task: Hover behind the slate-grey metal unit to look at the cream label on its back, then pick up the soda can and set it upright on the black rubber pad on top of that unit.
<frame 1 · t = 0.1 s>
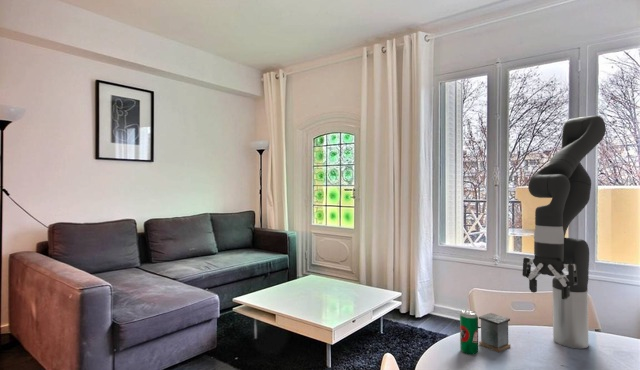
hand: (548, 295, 107), 17 cm above the table, tool pointing down, fingers open, 8 cm apart
soda can: (469, 352, 109), on the table
service unit: (494, 346, 113), on the table
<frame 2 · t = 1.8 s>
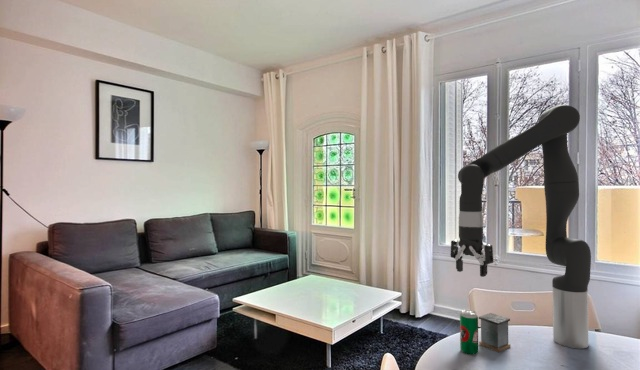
hand: (471, 273, 119), 21 cm above the table, tool pointing down, fingers open, 8 cm apart
nothing on the table moved.
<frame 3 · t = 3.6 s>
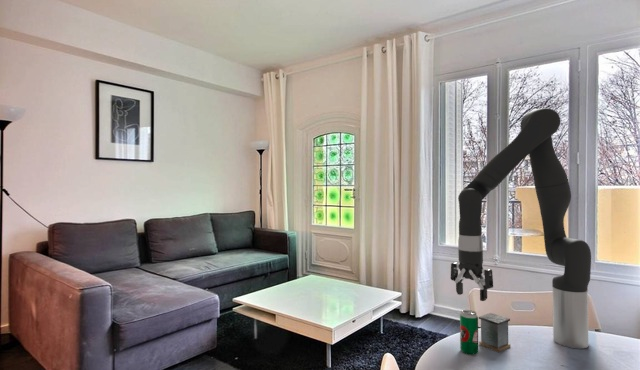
hand: (471, 297, 119), 13 cm above the table, tool pointing down, fingers open, 8 cm apart
nothing on the table moved.
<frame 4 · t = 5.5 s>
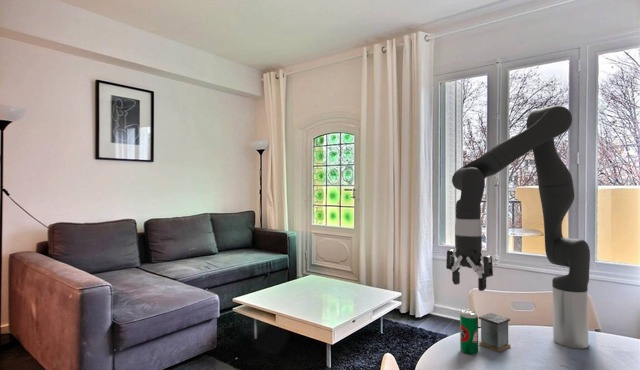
hand: (468, 287, 109), 20 cm above the table, tool pointing down, fingers open, 8 cm apart
nothing on the table moved.
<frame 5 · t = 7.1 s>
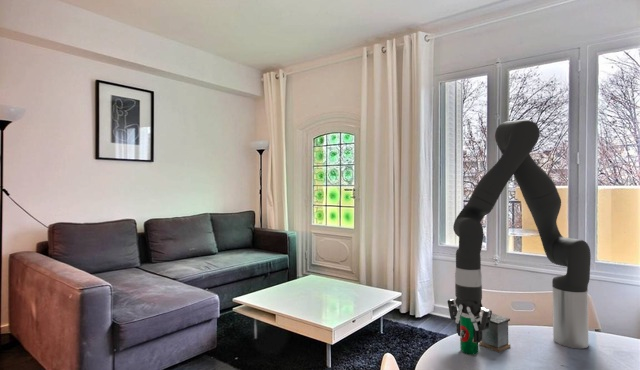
hand: (469, 338, 109), 4 cm above the table, tool pointing down, fingers closed on soda can, 5 cm apart
soda can: (469, 352, 109), on the table, touching gripper
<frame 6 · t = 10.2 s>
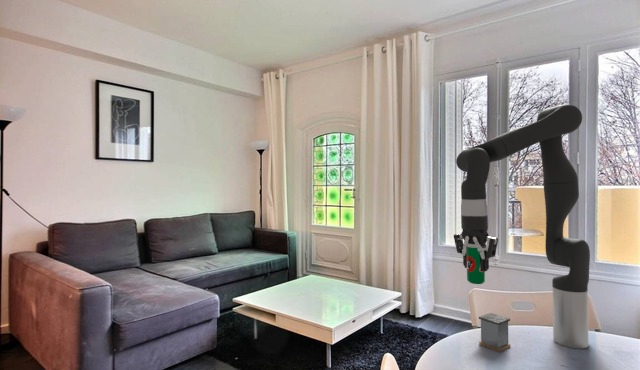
hand: (475, 269, 110), 25 cm above the table, tool pointing down, fingers closed on soda can, 5 cm apart
soda can: (476, 283, 110), point 20 cm above the table, touching gripper
when the fingers open (14 cm above the table, at t = 13.2 s): soda can drops 1 cm, resting on service unit.
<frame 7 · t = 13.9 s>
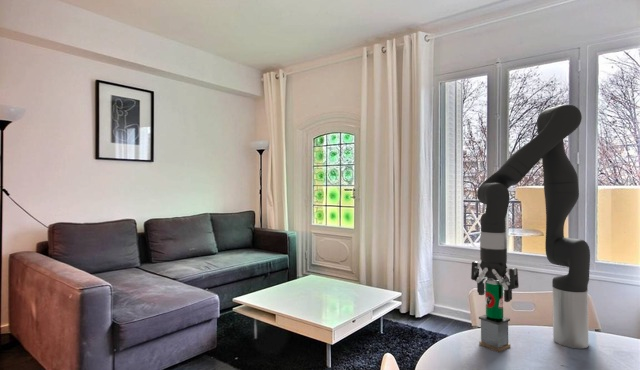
hand: (494, 298, 113), 15 cm above the table, tool pointing down, fingers open, 8 cm apart
soda can: (494, 318, 113), point 9 cm above the table, touching service unit
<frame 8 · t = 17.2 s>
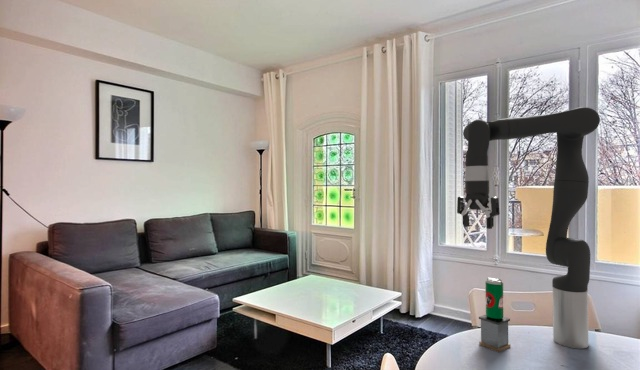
hand: (477, 227, 122), 36 cm above the table, tool pointing down, fingers open, 8 cm apart
nothing on the table moved.
at the end: soda can 0.1 cm off-centre on the service unit, point 8.6 cm above the service unit's base; soda can tilted 0°; the gripper is holding nothing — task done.
